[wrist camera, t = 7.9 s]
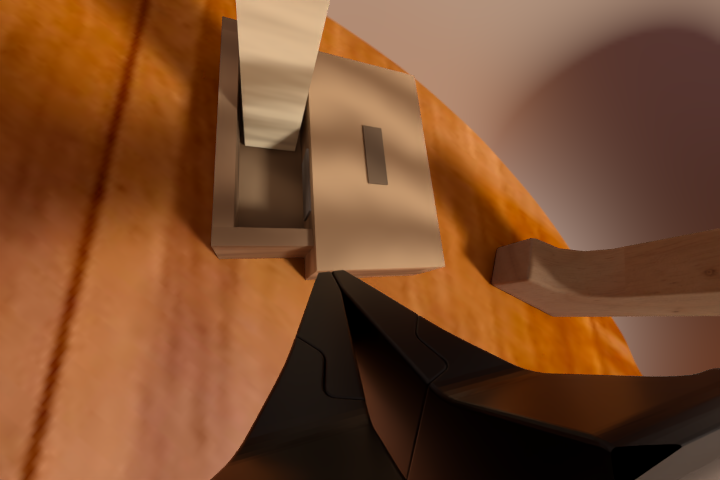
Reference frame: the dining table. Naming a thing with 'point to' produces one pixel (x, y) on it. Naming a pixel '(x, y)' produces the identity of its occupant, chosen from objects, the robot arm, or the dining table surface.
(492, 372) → the robot arm
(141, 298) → the dining table surface
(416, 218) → the box with sliding lid
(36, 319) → the dining table surface
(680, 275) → the wooden block
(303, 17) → the tall beige rectangular block
